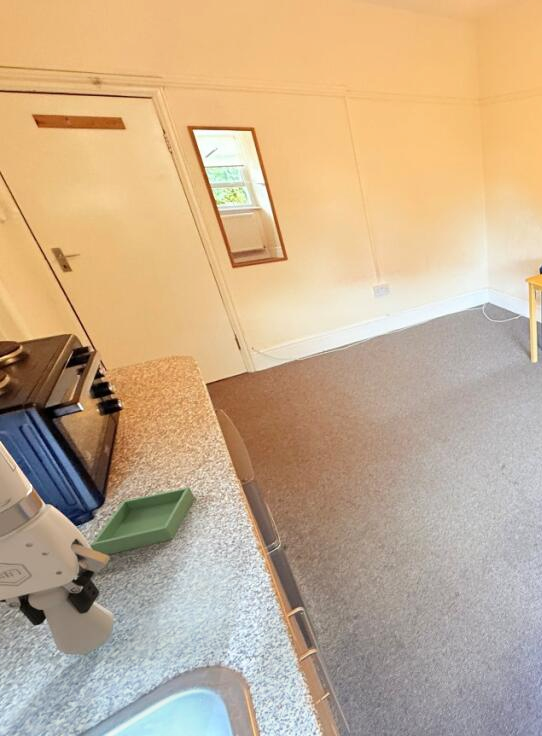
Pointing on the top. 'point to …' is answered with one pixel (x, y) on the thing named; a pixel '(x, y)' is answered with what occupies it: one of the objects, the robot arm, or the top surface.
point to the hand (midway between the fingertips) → (68, 608)
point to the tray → (144, 521)
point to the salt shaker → (73, 621)
